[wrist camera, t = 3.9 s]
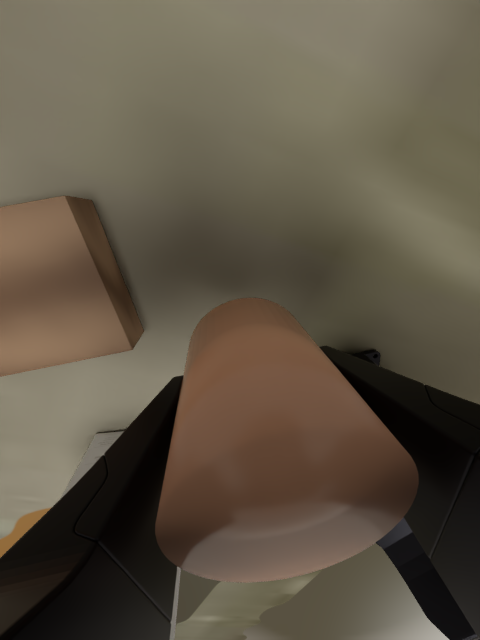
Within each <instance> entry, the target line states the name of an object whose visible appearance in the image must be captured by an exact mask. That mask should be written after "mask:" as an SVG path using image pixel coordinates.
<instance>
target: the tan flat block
mask: <svg viewBox="0 0 480 640" xmlns="http://www.w3.org/2000/svg"><path fill="white" fill-rule="evenodd" d="M143 332H144V330H143V328H142V325H141V323H140V320H139V318H138V315H137V313H136V310H135V308H134V305H133V303H132V300H131V298H130V295H129V292H128V290H127V287H126V285H125V282H124V280H123V277H122V275H121V272H120V270H119V267H118V265H117V262H116V260H115V257H114V255H113V252H112V250H111V247H110V245H109V242H108V240H107V237H106V235H105V232H104V230H103V227H102V225H101V222H100V220H99V217H98V215H97V212H96V210H95V207H94V205H93V202H92V200H88V199H82V198H76V197H70V196H60V197H54V198H48V199H43V200H37V201H32V202H26V203H21V204H15V205H9V206H4V207H0V377H1V376H6V375H11V374H16V373H21V372H26V371H31V370H36V369H41V368H45V367H50V366H55V365H60V364H65V363H70V362H75V361H80V360H85V359H90V358H95V357H100V356H105V355H110V354H115V353H120V352H124V351H129V350H133V348H134V347H135V345H136V343H137V342H138V340H139V339H140V337H141V335H142V334H143Z"/></svg>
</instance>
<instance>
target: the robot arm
mask: <svg viewBox="0 0 480 640" xmlns="http://www.w3.org/2000/svg"><path fill="white" fill-rule="evenodd" d="M320 349H321V350H322V351H323V352H324V353H325V355H326V356H327V357H328V358H329V359H330V360H331V362H332V363H333V364H334V365H335V366H336V368H337V369H338V370H339V371H340V372H341V374H342V375H343V376H344V377H345V378H346V380H347V381H348V382H349V383H350V384H351V385H352V387H353V388H354V389H355V390H356V391H357V393H358V394H359V395H360V396H361V397H362V399H363V400H364V401H365V402H366V403H367V405H368V406H369V407H370V408H371V409H372V411H373V412H374V413H375V414H376V415H377V416H378V418H379V419H380V420H381V421H382V422H383V424H384V425H385V426H386V427H387V428H388V430H389V431H390V432H391V433H392V434H393V436H394V437H395V438H396V439H397V440H398V441H399V443H400V444H401V445H402V446H403V447H404V449H405V450H406V451H407V452H408V453H409V455H410V456H411V457H412V459H413V461H414V463H415V464H416V467H417V471H418V479H419V484H418V489H417V494H416V496H415V499H414V501H413V503H412V505H411V507H410V508H409V510H408V512H407V513H406V514H405V516H404V517H403V518H402V519H401V521H400V522H399V523H398V524H397V525H396V526H395V527H394V528H393V529H392V530H391V531H389V532H388V533H387V534H386V535H385V536H384V537H382V538H381V539H380V540H378V541H377V542H376V543H377V544H378V545H379V546H381V547H382V548H383V550H384V551H385V552H386V554H387V555H388V556H389V558H390V559H391V561H392V562H393V564H394V565H395V567H396V568H397V570H398V571H399V573H400V574H401V576H402V577H403V579H404V581H405V582H406V584H407V585H408V587H409V589H410V590H411V592H412V594H413V595H414V597H415V599H416V600H417V602H418V603H419V605H420V607H421V608H422V610H423V612H424V613H425V615H426V616H427V618H428V619H429V620H430V621H431V622H432V623H433V624H434V625H435V626H436V627H437V628H438V629H439V630H440V631H441V632H442V633H443V634H444V635H445V636H446V637H447V638H449V639H450V640H480V405H479V404H476V403H473V402H471V401H468V400H465V399H462V398H459V397H457V396H454V395H451V394H449V393H446V392H443V391H441V390H438V389H436V388H433V387H431V386H428V385H425V386H424V384H423V383H420V382H418V381H415V380H413V379H410V378H408V377H405V376H402V375H400V374H397V373H395V372H392V371H390V370H387V369H385V368H382V367H380V366H379V362H380V353H379V352H378V351H377V350H370V351H365V352H361V353H356V354H351V355H349V354H346V353H344V352H341V351H339V350H336V349H334V348H331V347H329V346H321V347H320ZM373 355H374V356H373ZM182 380H183V375H182V376H177V377H174V378H172V380H171V381H170V382H169V383H168V384H167V385H166V386H165V387H164V388H163V389H162V390H161V392H160V393H159V394H158V395H157V396H156V397H155V398H154V399H153V400H152V401H151V403H150V404H149V405H148V406H147V407H146V408H145V409H144V410H143V411H142V412H141V413H140V415H139V416H138V417H137V418H136V419H135V420H134V421H133V422H132V423H131V424H130V426H129V427H128V428H127V429H126V430H125V431H124V432H123V433H122V434H121V435H120V436H119V438H118V439H117V440H116V441H115V442H114V443H113V444H112V445H111V446H110V447H109V449H108V450H107V451H106V452H105V453H104V455H105V456H104V455H102V456H101V457H100V458H99V459H98V460H97V462H96V463H95V464H94V465H93V466H92V467H91V468H90V469H89V470H88V471H87V472H86V473H85V474H84V475H83V477H82V478H81V479H80V480H79V481H78V482H77V483H76V484H75V485H74V486H73V487H72V488H71V489H70V490H69V491H68V492H67V493H66V494H65V495H64V496H63V497H62V498H61V499H60V500H59V501H58V502H57V503H56V504H55V505H54V506H53V507H52V508H51V509H50V510H49V511H48V512H47V513H46V514H45V515H44V516H43V517H42V518H41V519H40V520H39V521H38V522H37V523H36V524H35V525H34V526H33V527H32V528H31V529H30V530H28V532H26V533H25V534H24V535H23V536H22V538H20V539H19V540H18V541H17V542H16V543H15V544H14V545H13V546H12V547H11V548H10V549H9V550H8V551H7V552H6V553H5V554H4V555H3V556H2V557H1V558H0V640H170V632H171V623H170V622H171V620H172V612H173V603H174V594H175V585H176V576H177V567H178V566H176V565H175V564H173V563H172V562H171V561H170V560H168V558H167V557H166V556H165V555H164V554H163V553H162V551H161V549H160V547H159V545H158V543H157V539H156V535H155V523H156V518H157V513H158V508H159V502H160V497H161V492H162V486H163V481H164V476H165V470H166V465H167V460H168V454H169V449H170V444H171V439H172V433H173V428H174V423H175V417H176V412H177V407H178V401H179V396H180V391H181V385H182Z"/></svg>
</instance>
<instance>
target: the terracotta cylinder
mask: <svg viewBox="0 0 480 640" xmlns="http://www.w3.org/2000/svg"><path fill="white" fill-rule="evenodd" d="M418 484H419V479H418V471H417V467H416V464H415V463H414V461H413V459H412V457H411V456H410V455H409V453H408V452H407V451H406V450H405V449H404V447H403V446H402V445H401V444H400V443H399V441H398V440H397V439H396V438H395V437H394V436H393V434H392V433H391V432H390V431H389V430H388V428H387V427H386V426H385V425H384V424H383V422H382V421H381V420H380V419H379V418H378V416H377V415H376V414H375V413H374V412H373V411H372V409H371V408H370V407H369V406H368V405H367V403H366V402H365V401H364V400H363V399H362V397H361V396H360V395H359V394H358V393H357V391H356V390H355V389H354V388H353V387H352V385H351V384H350V383H349V382H348V381H347V380H346V378H345V377H344V376H343V375H342V374H341V372H340V371H339V370H338V369H337V368H336V366H335V365H334V364H333V363H332V362H331V360H330V359H329V358H328V357H327V356H326V355H325V353H324V352H323V351H322V350H321V349H320V347H319V346H318V345H317V344H316V343H315V341H314V340H313V339H312V338H311V337H310V335H309V334H308V333H307V332H306V331H305V330H304V328H303V327H302V326H301V325H300V324H299V322H298V321H297V320H296V319H295V318H294V316H293V315H292V314H291V313H290V312H289V311H288V310H286V309H285V308H284V307H282V306H280V305H279V304H277V303H274V302H272V301H269V300H265V299H260V298H241V299H236V300H232V301H229V302H226V303H224V304H221V305H219V306H218V307H216V308H214V309H213V310H211V311H210V312H209V313H207V314H206V315H205V316H204V317H203V318H202V319H201V321H200V322H199V323H198V324H197V326H196V328H195V329H194V331H193V334H192V336H191V339H190V343H189V348H188V354H187V359H186V364H185V370H184V375H183V380H182V385H181V391H180V396H179V401H178V407H177V412H176V417H175V423H174V428H173V433H172V439H171V444H170V449H169V454H168V460H167V465H166V470H165V476H164V481H163V486H162V492H161V497H160V502H159V508H158V513H157V518H156V523H155V535H156V539H157V543H158V545H159V547H160V549H161V551H162V553H163V554H164V555H165V556H166V557H167V558H168V560H170V561H171V562H172V563H173V564H175V565H176V566H178V567H179V568H181V569H183V570H185V571H187V572H189V573H192V574H194V575H197V576H200V577H204V578H207V579H213V580H218V581H227V582H263V581H273V580H280V579H286V578H291V577H295V576H300V575H304V574H307V573H311V572H314V571H317V570H320V569H323V568H326V567H329V566H331V565H334V564H336V563H339V562H341V561H343V560H345V559H348V558H350V557H352V556H354V555H356V554H357V553H359V552H361V551H363V550H364V549H366V548H368V547H369V546H371V545H373V544H374V543H375V542H377V541H378V540H380V539H381V538H382V537H384V536H385V535H386V534H387V533H388V532H389V531H391V530H392V529H393V528H394V527H395V526H396V525H397V524H398V523H399V522H400V521H401V519H402V518H403V517H404V516H405V514H406V513H407V512H408V510H409V508H410V507H411V505H412V503H413V501H414V499H415V496H416V494H417V489H418Z"/></svg>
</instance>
